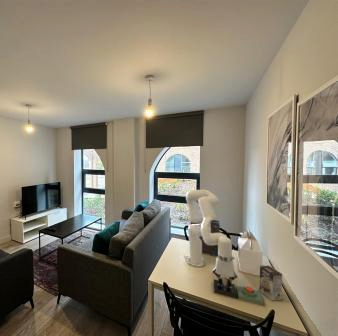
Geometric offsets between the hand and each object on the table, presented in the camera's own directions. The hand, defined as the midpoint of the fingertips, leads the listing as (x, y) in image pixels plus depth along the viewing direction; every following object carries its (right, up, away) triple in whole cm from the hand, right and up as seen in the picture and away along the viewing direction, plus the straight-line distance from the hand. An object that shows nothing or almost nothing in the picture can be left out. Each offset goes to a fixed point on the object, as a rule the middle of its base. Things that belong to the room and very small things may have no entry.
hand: (224, 284), depth 120 cm
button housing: (+12, -4, -5) cm, 14 cm away
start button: (+12, 0, -6) cm, 13 cm away
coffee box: (+26, -4, -4) cm, 26 cm away
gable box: (+35, -2, +26) cm, 43 cm away
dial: (0, -1, 0) cm, 1 cm away
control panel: (0, -4, 0) cm, 4 cm away
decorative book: (+11, -2, +49) cm, 50 cm away
